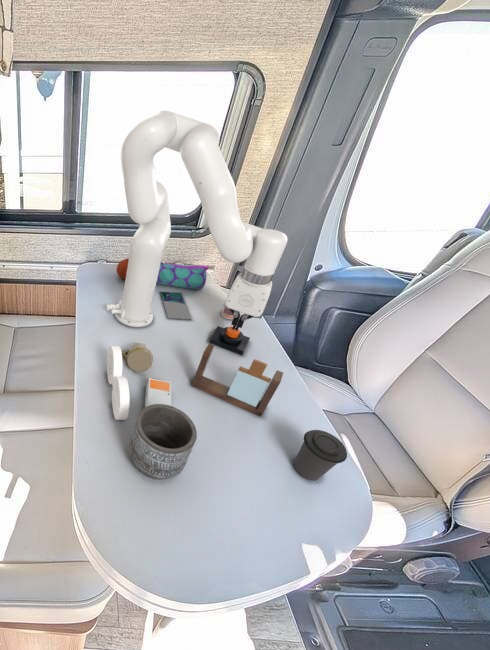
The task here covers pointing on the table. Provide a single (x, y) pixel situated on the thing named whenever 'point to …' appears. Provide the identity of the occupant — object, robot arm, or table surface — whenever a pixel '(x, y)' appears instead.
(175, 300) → the smartphone
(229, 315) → the pill bottle
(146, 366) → the mug
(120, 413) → the letter
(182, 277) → the pencil case
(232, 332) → the button
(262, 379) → the window pane
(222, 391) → the window frame
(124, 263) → the fruit
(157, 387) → the cosmetic box
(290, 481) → the table surface
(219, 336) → the button housing
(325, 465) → the coffee cup
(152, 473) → the planter
